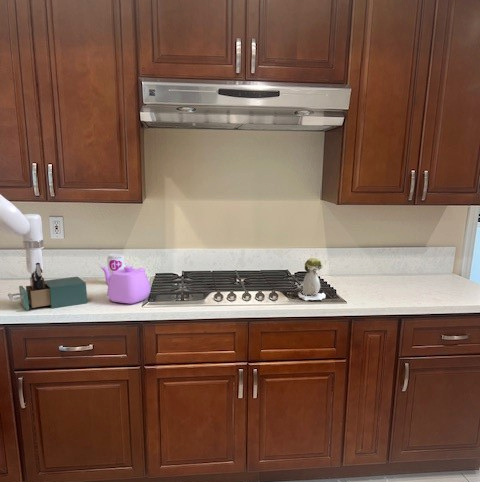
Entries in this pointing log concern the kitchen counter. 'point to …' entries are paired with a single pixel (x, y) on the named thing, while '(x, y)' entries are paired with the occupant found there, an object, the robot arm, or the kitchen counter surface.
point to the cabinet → (67, 292)
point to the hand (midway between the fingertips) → (37, 287)
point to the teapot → (127, 285)
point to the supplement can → (115, 262)
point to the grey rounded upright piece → (312, 281)
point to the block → (33, 283)
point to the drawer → (32, 297)
